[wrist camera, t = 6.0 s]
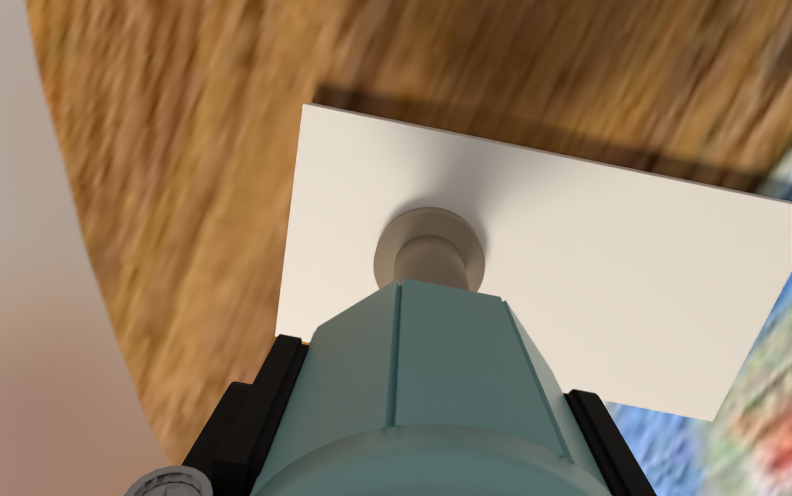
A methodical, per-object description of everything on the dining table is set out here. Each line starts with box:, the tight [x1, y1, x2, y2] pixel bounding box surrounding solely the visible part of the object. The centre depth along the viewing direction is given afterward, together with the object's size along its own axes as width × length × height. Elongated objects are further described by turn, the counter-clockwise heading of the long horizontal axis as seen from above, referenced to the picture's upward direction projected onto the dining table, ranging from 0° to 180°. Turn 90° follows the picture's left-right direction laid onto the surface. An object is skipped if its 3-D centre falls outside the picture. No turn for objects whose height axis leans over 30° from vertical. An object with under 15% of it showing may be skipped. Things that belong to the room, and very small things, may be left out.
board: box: [275, 103, 792, 421], centre depth 21 cm, size 24×12×7 cm, turn 79°
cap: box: [250, 278, 612, 496], centre depth 9 cm, size 7×7×6 cm
